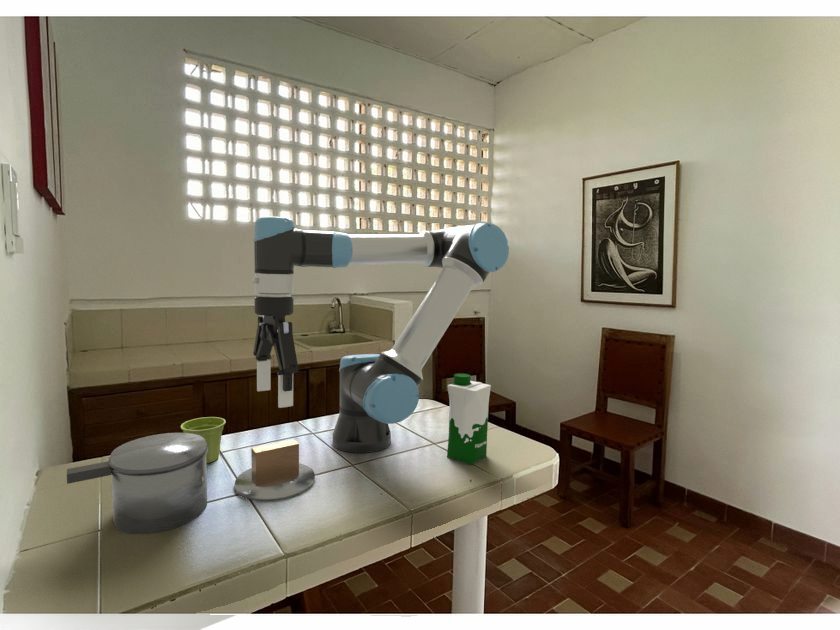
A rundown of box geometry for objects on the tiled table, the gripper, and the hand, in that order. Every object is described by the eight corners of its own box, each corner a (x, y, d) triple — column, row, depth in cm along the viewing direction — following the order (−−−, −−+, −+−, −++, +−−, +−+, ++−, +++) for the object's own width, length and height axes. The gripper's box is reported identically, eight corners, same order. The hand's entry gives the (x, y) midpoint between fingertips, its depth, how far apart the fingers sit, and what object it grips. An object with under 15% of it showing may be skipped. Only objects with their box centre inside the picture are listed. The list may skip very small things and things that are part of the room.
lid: (298, 461, 108) (298, 427, 107) (327, 488, 95) (327, 450, 94) (226, 478, 99) (225, 441, 98) (247, 510, 86) (246, 468, 85)
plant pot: (172, 462, 105) (171, 425, 104) (208, 448, 113) (207, 414, 113) (199, 471, 101) (198, 433, 100) (235, 456, 109) (234, 421, 108)
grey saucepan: (200, 483, 95) (198, 427, 94) (217, 517, 83) (216, 452, 82) (71, 513, 83) (67, 448, 82) (69, 558, 70) (64, 483, 69)
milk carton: (460, 446, 119) (463, 370, 117) (492, 456, 113) (495, 376, 111) (441, 457, 112) (444, 376, 110) (473, 467, 106) (477, 383, 104)
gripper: (238, 291, 101) (238, 386, 103) (276, 299, 81) (276, 417, 83) (272, 291, 105) (272, 382, 107) (316, 299, 85) (315, 411, 87)
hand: (274, 398), depth 95 cm, fingers open, 13 cm apart
